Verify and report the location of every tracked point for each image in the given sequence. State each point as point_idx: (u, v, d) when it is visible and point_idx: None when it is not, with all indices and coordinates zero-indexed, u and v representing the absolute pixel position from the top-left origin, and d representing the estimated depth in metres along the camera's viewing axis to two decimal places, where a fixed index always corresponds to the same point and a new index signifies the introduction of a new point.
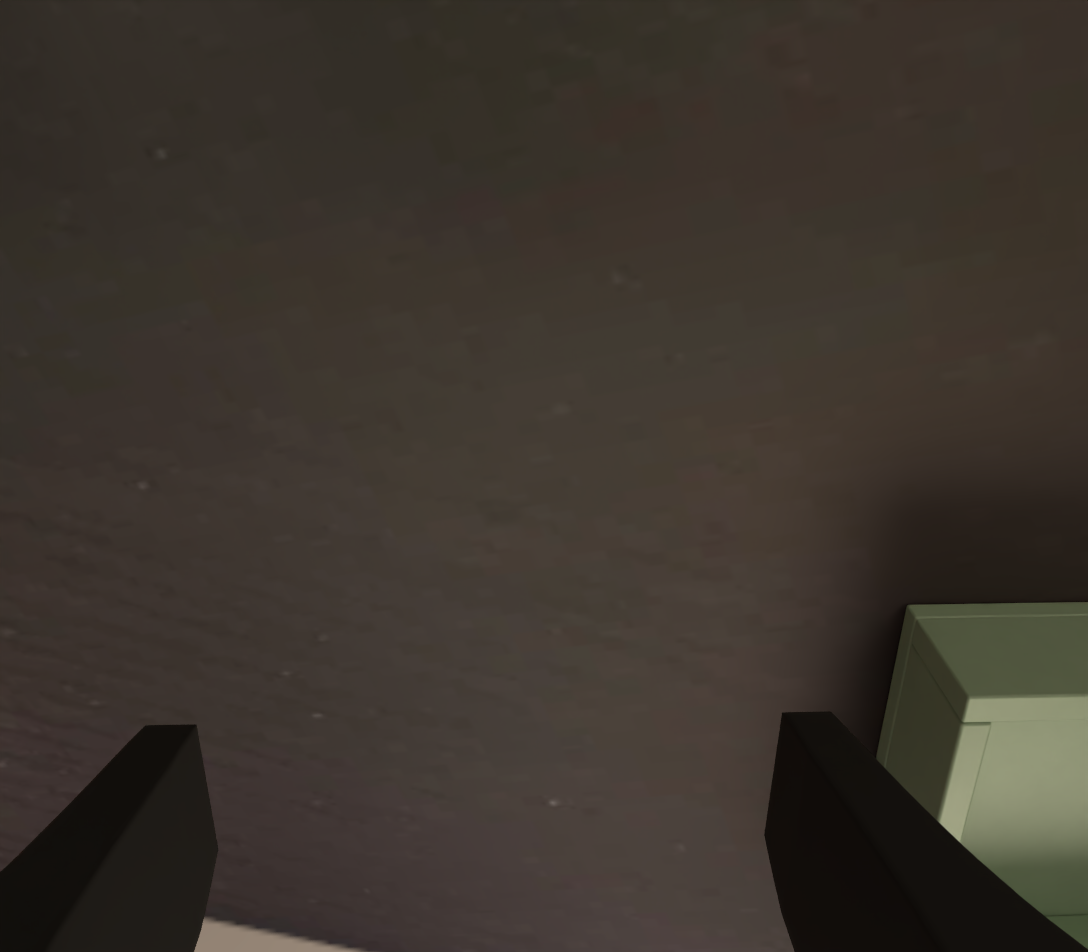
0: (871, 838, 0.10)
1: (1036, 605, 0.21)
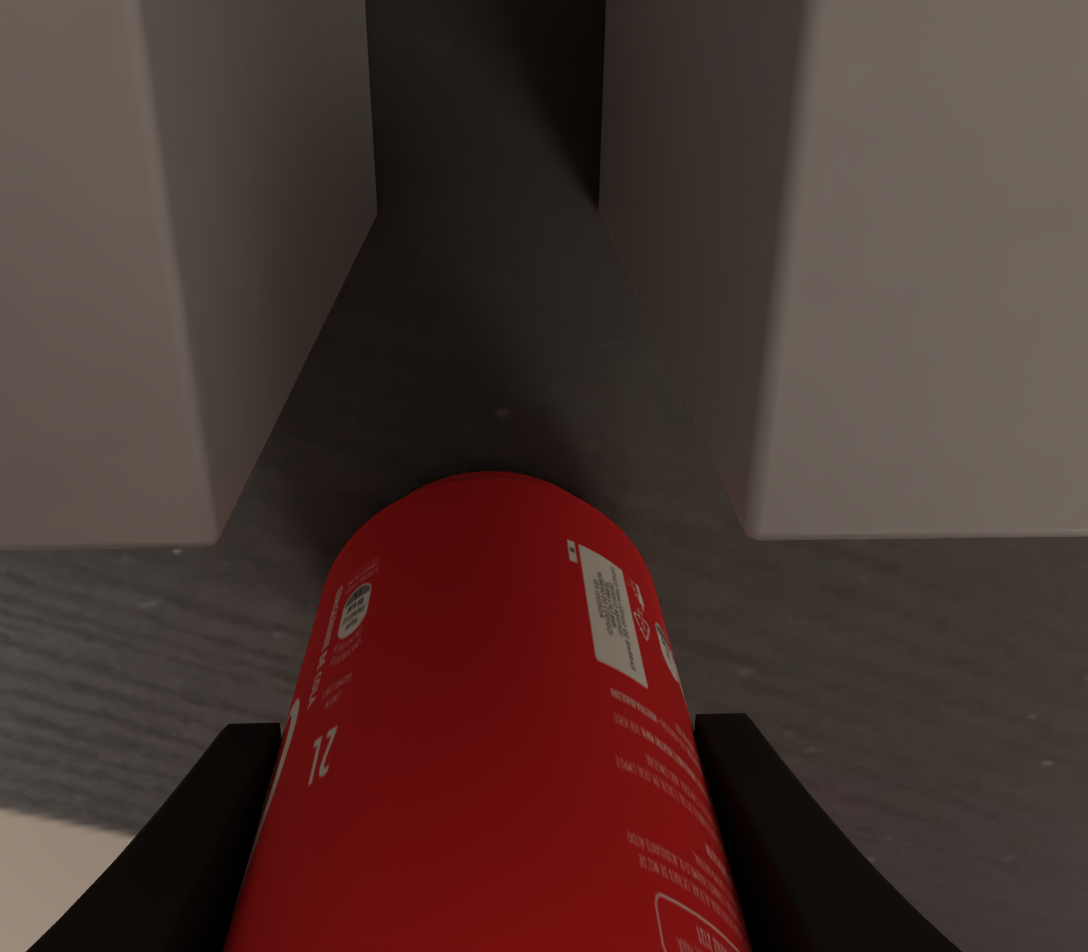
0: (764, 841, 0.10)
1: None
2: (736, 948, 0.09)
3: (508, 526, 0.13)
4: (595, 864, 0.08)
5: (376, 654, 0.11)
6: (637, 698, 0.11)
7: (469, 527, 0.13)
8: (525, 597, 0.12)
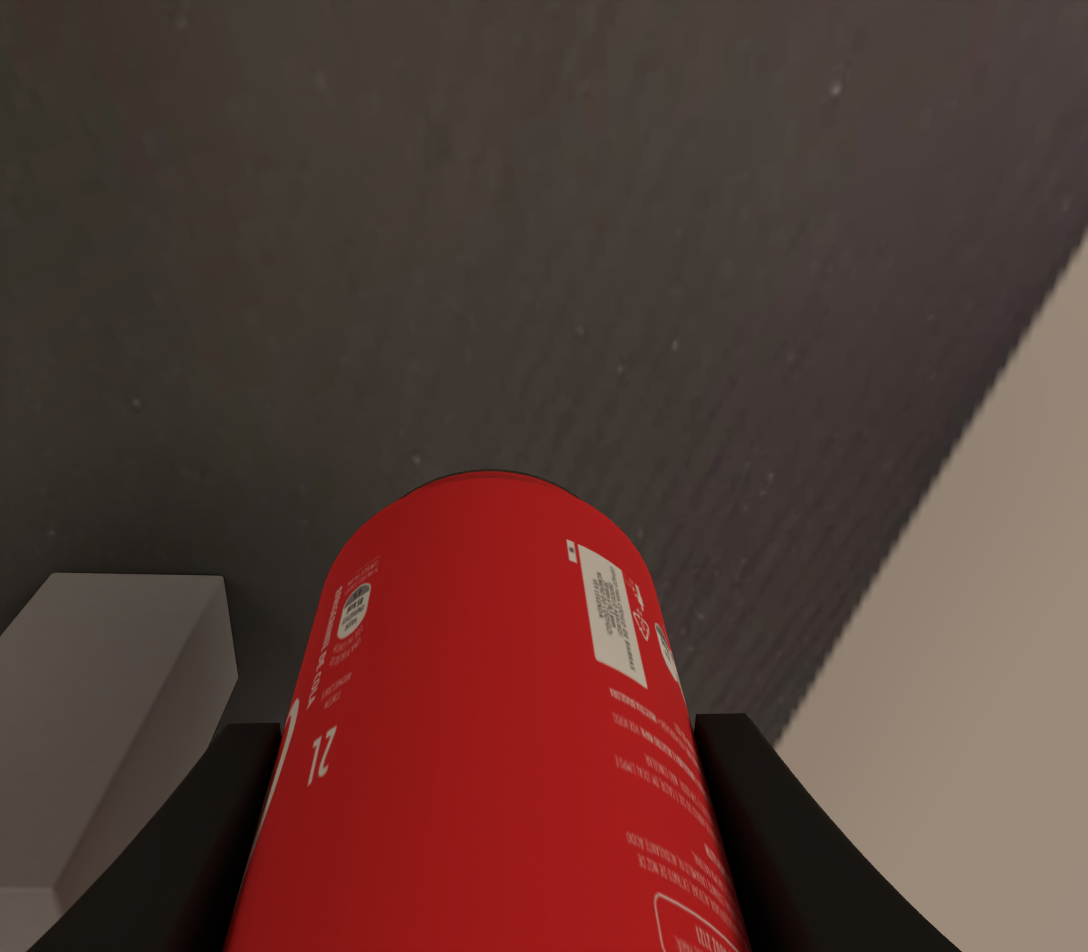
0: (764, 841, 0.10)
1: None
2: (735, 948, 0.09)
3: (507, 525, 0.13)
4: (595, 864, 0.08)
5: (377, 654, 0.11)
6: (636, 699, 0.11)
7: (469, 527, 0.13)
8: (525, 597, 0.12)
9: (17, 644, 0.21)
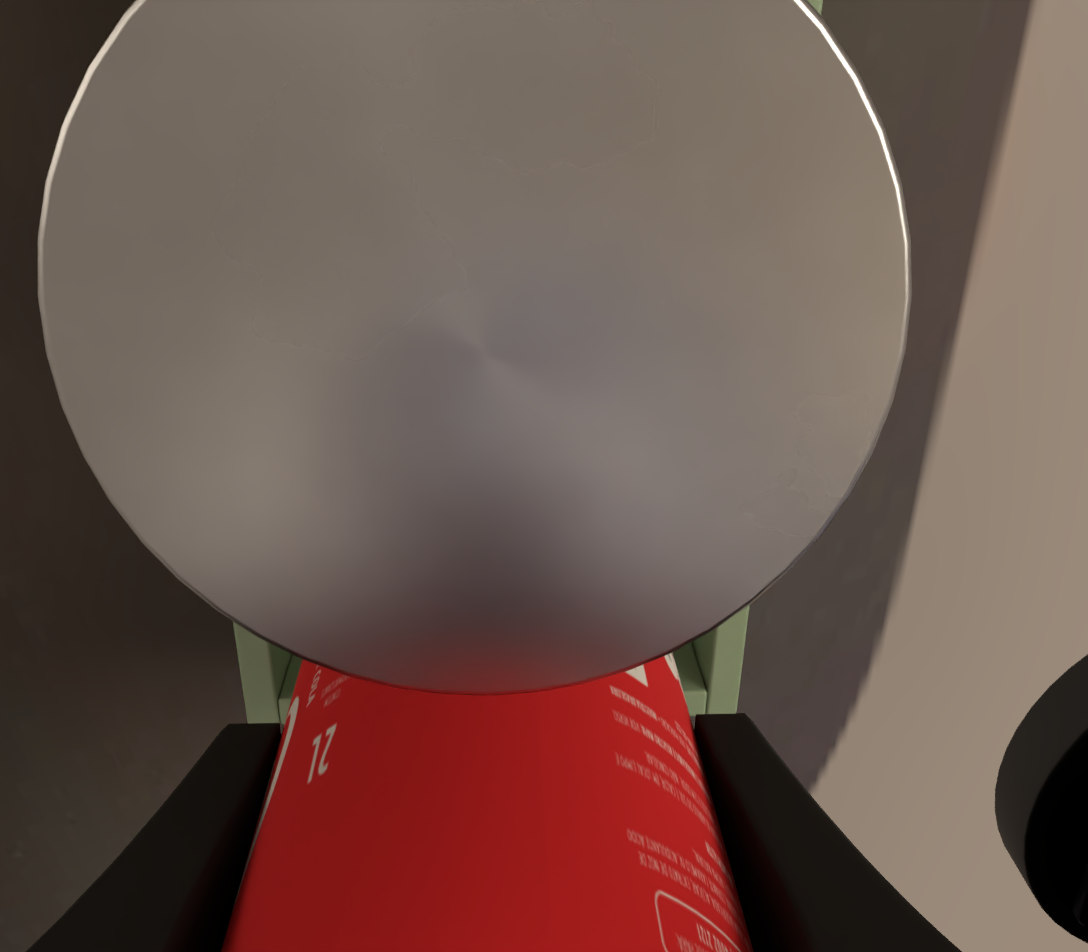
0: (764, 841, 0.10)
1: None
2: (736, 946, 0.09)
3: None
4: (595, 860, 0.08)
5: None
6: (636, 697, 0.11)
7: None
8: None
9: None
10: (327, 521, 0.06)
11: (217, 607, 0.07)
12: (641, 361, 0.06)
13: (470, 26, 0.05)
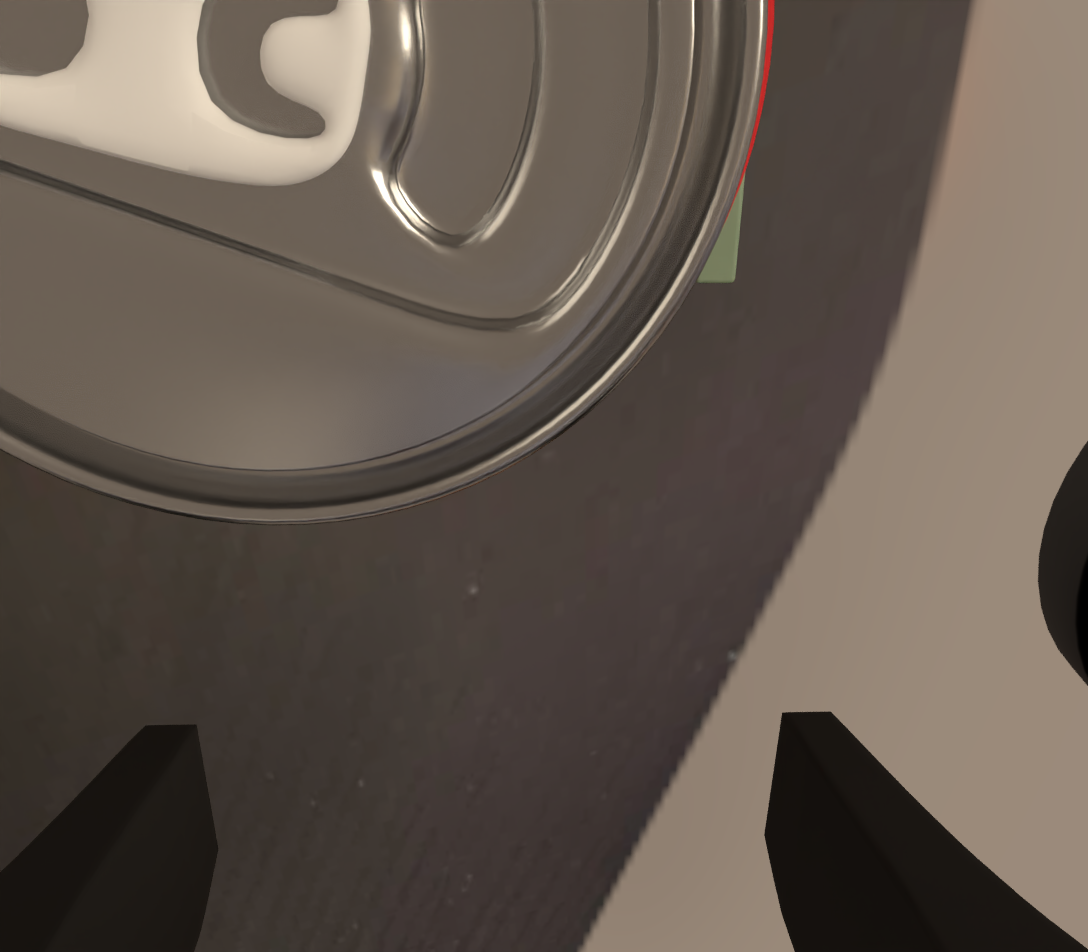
0: (871, 838, 0.10)
1: None
2: None
3: None
4: None
5: None
6: None
7: None
8: None
9: None
10: None
11: None
12: None
13: None
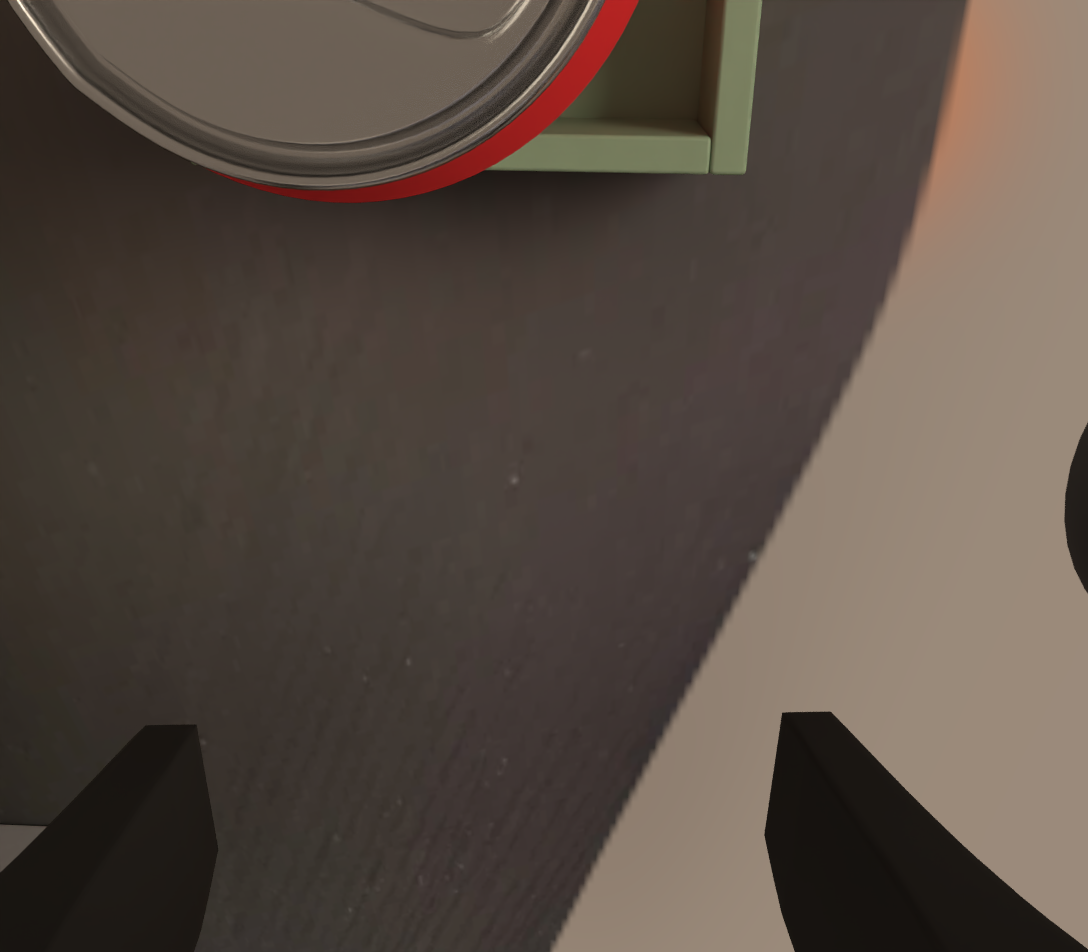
0: (871, 838, 0.10)
1: None
2: None
3: None
4: None
5: None
6: None
7: None
8: None
9: None
10: None
11: None
12: None
13: None
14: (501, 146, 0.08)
